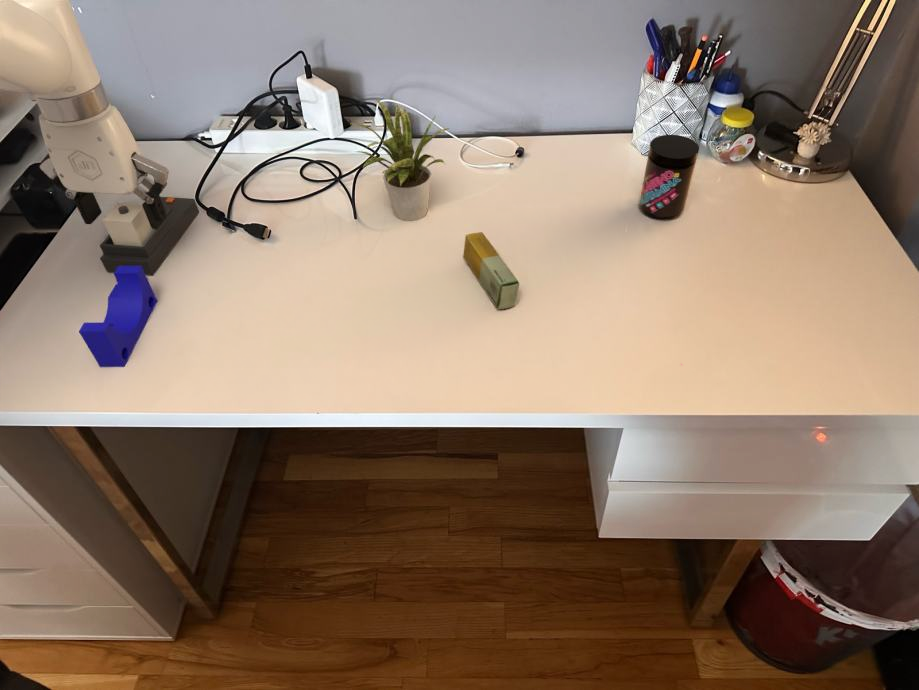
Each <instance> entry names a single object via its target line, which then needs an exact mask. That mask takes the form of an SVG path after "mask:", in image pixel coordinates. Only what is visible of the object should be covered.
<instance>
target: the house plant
mask: <svg viewBox="0 0 919 690" xmlns="http://www.w3.org/2000/svg"><path fill="white" fill-rule="evenodd" d="M375 101H376V102H377V105H379V107H380V109H381V111H382V113H383V116H384V119H385V122H386V126H387V128H388V130H389V132H390V135H391V137H389V138H388V139H383V138H382V136H380V134H378V133H377V132H376V131H375V130H374V129H373V128H371V127H369V126H368V125H365V124H361V123H351V125H354V126H358V127H362V128H363V129H367V130H370V131H371V132H372V133H373V134H375V136H377V138H378V139H379V140H380V141H381V142H377V141H374V142H371V143H370V144H368V145H366V147H365V149H367V148H370V147H371V150H373V149H374V148H375V149H376V148H381V149H382V150H383V151H384V152H385V153H386V154H387V155H388V156H389V157H390V159H391V160H392V161H393V163H392V161H389V160H388V159H386V158H385V157H380V156H375V155H373V154H372V153H370V152H367V151H361V150H358V151H356V153H360V154H364V155H366V156H369V158H368V159H367V160H366V161H365V162H364V164H363V166H362V169H364V167H367V166H370V165H372V164H376V163H379V164H380V165H382V166H383V167H385V168H387V169H385V170H383V171H382V174H383V177H382V179H383V183H384V186H385V188H386V191H387V194H388V197H389V198H388V199H389V201H390V204H391V208H392V211H393V214H394V217H396V218H397V219H399V220H401V221H406V222H414V221H418V220H420V219H423V218H424V217H425V216H426V215H427V213H428V208H429V200H430V199H429V198H430V189H431V181H432V172H431V170H430V169H429V168H428V167H430V166H431V165H433V164H437V163H443V164H446V162H445V161H444V159H440V158H438V159H437V158H435V157H434V156H433V155H430V154H428V153H427V154H425V153H423V154H422V155H421V156H420V154H421V153H422V151H423V149H424V147H425V146H426V145H428V143H429V142H431V141H432V140H433V138H436V136H437V135H439V134H441V133H443V132H445V131H448V130H449V128H442V129H439V130H437V131H436V132H435V133H434V134H433V135H428V133H429V131H430V129H431V127H432V124H433V122H434V121H435V117H436V116H433V118H432V119H431V121H430V123H429V124H428V126H426V130H425V131H424V133H423V135H422V137H421V139H420V141H419V143H418V145H417V147H416V149H414V145H413V136H412V135H413V133H412V132H413V131H412V123H411V119H410V115H409V114H410V113H408V111H407V110H406V109H405V107H403V109H402V108H401V106H400V105H399V104H398V103H397V105H396V107H395V112H394V122H393V118H392V115H391V113H390V111H389V109H388V108H387V107H386V106H385V104H383V103H382V102H381V101H380V100H378V99H377V98H375ZM401 124H402V125H401ZM376 145H378V146H376ZM381 145H382V146H381ZM372 146H373V147H372ZM430 158H432V159H433V161H431V162H429V163H428V164H427V165H426V166H425V165H423V164H424V163H425V162H426V161H427V159H430ZM385 162H387V163H388V164H390V166H389V165H387V164H385Z"/></svg>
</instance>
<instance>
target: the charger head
mask: <svg viewBox="0 0 919 690" xmlns="http://www.w3.org/2000/svg"><path fill="white" fill-rule="evenodd" d="M142 205H143V203H134V202H133V203H132V202H116V204H115V205H114V206H113V207H112V208H111V209H110V211H109V212H108V213H107V214H106V215H105V216H104V217H103V218H102V222H103V224H104V226H105V228H106V230H107V232H108V235H109V234H110V236H111V238H112V240H113V243H114V245H128V246H142V247H144V246H145V244H146V243H147V242H148V240H149V239H150V238H151V237H152V235H153V234H154V233H155V232H156V229H153V228H151V226H150V223H149V221H148V219H147V216H146V214H145V211H144V209H143V206H142Z"/></svg>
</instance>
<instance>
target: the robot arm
mask: <svg viewBox="0 0 919 690" xmlns="http://www.w3.org/2000/svg"><path fill="white" fill-rule="evenodd" d="M91 54H92V53H91V51H90V49H89V48H88V45H87V42H86V40H85V37H84V35H83V32H82V30H81V27H80V25H79V22H78V20H77V17H76V15H75V13H74V10H73V6H72V5H71V3H70V0H0V91H7V92H14V93H22V94H27V95H28V98H29V100H30V101H32V102H36V103H37V106H38V108H39V110H40V112H41V113H40V114H39V116H38V121H39V126H40V130H41V135H42V138H43V142H44V145H45V148H46V150H47V153H48V156H49V158H47V159H46V160H44V161H43V162H42V163H41V164H40V165H39V169H40V170H41V171H42V172H43V173H44V174H45V175H47V177H48V178H49V179H51V180H52V183H53V184H54V185H55V186H56V187H58V188H59V189H60V190H62V191H63V192H65V196H66V197H67V198H68V199H70V200H73V202H74V204H75V206H76V208H77V210H78V212H79V214H80V216H81V218H82V220H83V222H84V224H85V225H88V226H89V225H92V224H94V222H95V221H96V220H97V219H98V218H99V216H101V214H102V211H103V210H102V209H101V207H100V204H99V202H98V201H97V197H96V196H95V194H103V195H130V194H132V193H133V194H134V195H136V196H137V197H139V198H140V200H142V201H143V203H142V204H143V205H142V206H143V209H144V211H145V214H146V216H147V219H148V221H149V223H150V226H151V228H153V229H158V228H159V226H160V225H161V224H162V223H163V221H164V220H165V219H166V211H165V208H164V206H163V203H162V201H161V198H160V197H161V196H160V195H161V194H162V192H163V191H164V190H165V188H166V187H167V185H168V178H169V174H170V170H169V169H168V168H167V167H166V166H164V165H162V164H160V163H157V162H155V161H153V160H151V159H149V158H147V157H144V156H143V154H142V153H141V152H142V151H141V150H140V148H139V146H138V143H137V140H136V139H135V138H134V137H135V136H134V135H133V134H132V131H131V130H130V128H129V126H128V124H127V122H126V121H125V120H124V118H123V116H122V114H121V113H120V111H119V109H118V108H117V106H115V105H112V104H111V102H110V99H109V97H108V94H107V92H106V89H105V87H104V84H103V82H102V79H101V77H100V75H99V72H98V70H97V66H96V65H95V62H94V60H93V57H92V55H91ZM148 175H150V176H152V177H153V180H152V179H151V178H150V177H149V176H148ZM140 184H141V185H143V187H142V186H141V185H140ZM144 187H145V188H146V189H147V190H148V191H147V190H146V189H145V188H144Z"/></svg>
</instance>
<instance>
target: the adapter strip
mask: <svg viewBox="0 0 919 690" xmlns="http://www.w3.org/2000/svg"><path fill="white" fill-rule="evenodd" d="M160 198H161V201H162V203H163V206H164V208H165V211H166V219H165V220H164V221H163V223H162V224H161V225H160V226H159V228H158V229H156V232H155V233H154V234H153V235H152V237H151V238H150V239H149V240H148V242H147V243H146V244H145V246H144V247H142V246H128V245H114V243H113V240H112V238H111V236H110V234H109V233H108V235H107V236H106V237H105V238H104V240H103V241H102V242H101V243H100V245H99V248H100V250H101V251H102V252H101V253H102V255H101V256H100V258H99V259H100V261H101V263H102V265H103V267H104V269H105V271H106V272H107V273H113V274H114V272H115V270H116V269H117V267H118V266H142V268H143V271H144V273H145V275H146V276H155V274H156V273H157V271H158V270H159V268H160V267H161V265H163V263H164V261H165V260H166V259H167V257H168V256H169V254H170V253H171V252H172V250H173V249H174V248H175V246H176V245H177V243H179V241H180V240H181V238H182V237H183V235H184V234H185V233H186V231H187V230H188V229H189V228H190V225H191V224H192V223H193V222H194V220H195V219H196V217H197V216H198V215H199V213H200V210H199V208H198V204H197V203H196V200H195V198H188V197H187V198H186V197H175V196H173V197H171V196H160Z"/></svg>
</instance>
